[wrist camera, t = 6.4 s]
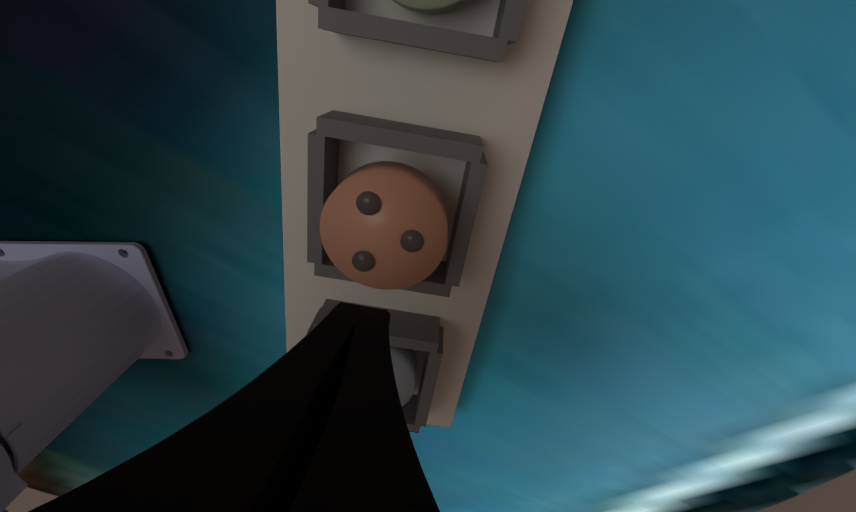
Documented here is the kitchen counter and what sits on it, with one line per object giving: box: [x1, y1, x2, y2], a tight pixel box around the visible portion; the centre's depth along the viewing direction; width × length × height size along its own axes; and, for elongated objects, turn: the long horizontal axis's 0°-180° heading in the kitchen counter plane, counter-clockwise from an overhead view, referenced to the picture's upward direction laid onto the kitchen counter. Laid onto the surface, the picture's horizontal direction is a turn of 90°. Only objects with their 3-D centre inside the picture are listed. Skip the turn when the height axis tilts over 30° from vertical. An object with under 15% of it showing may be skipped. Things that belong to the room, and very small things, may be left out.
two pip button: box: [390, 346, 417, 406], centre depth 19 cm, size 4×4×2 cm
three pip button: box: [320, 161, 448, 290], centre depth 13 cm, size 4×4×2 cm
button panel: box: [276, 0, 573, 433], centre depth 16 cm, size 28×10×4 cm, turn 171°
